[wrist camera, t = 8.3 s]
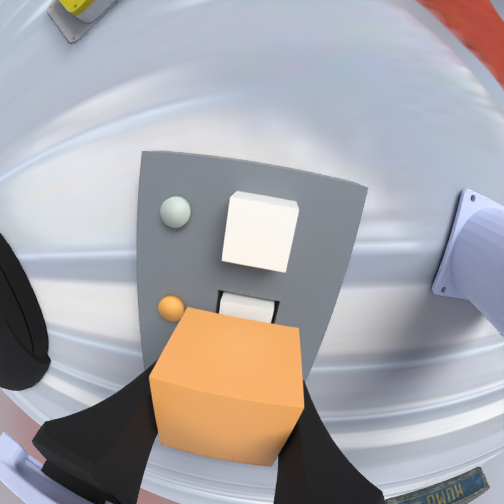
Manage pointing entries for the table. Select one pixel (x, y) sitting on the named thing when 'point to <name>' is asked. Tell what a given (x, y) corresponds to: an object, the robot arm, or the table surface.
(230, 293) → the block
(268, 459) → the orange rounded cube
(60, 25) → the emergency button
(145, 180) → the breaker board
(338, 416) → the table surface
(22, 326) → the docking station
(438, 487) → the metal box
